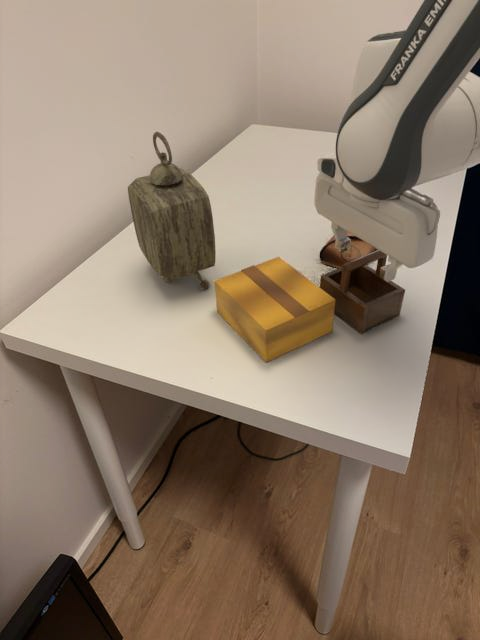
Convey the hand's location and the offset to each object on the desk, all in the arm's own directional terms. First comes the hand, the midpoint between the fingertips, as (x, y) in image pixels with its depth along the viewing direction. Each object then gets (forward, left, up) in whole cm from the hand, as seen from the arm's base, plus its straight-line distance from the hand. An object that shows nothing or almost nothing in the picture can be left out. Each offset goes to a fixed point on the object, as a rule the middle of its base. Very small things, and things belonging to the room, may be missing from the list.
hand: (363, 263), depth 71 cm
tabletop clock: (+24, +20, -9) cm, 32 cm away
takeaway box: (+5, +13, -9) cm, 16 cm away
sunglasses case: (+14, -13, -9) cm, 21 cm away
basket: (0, 0, -9) cm, 9 cm away
